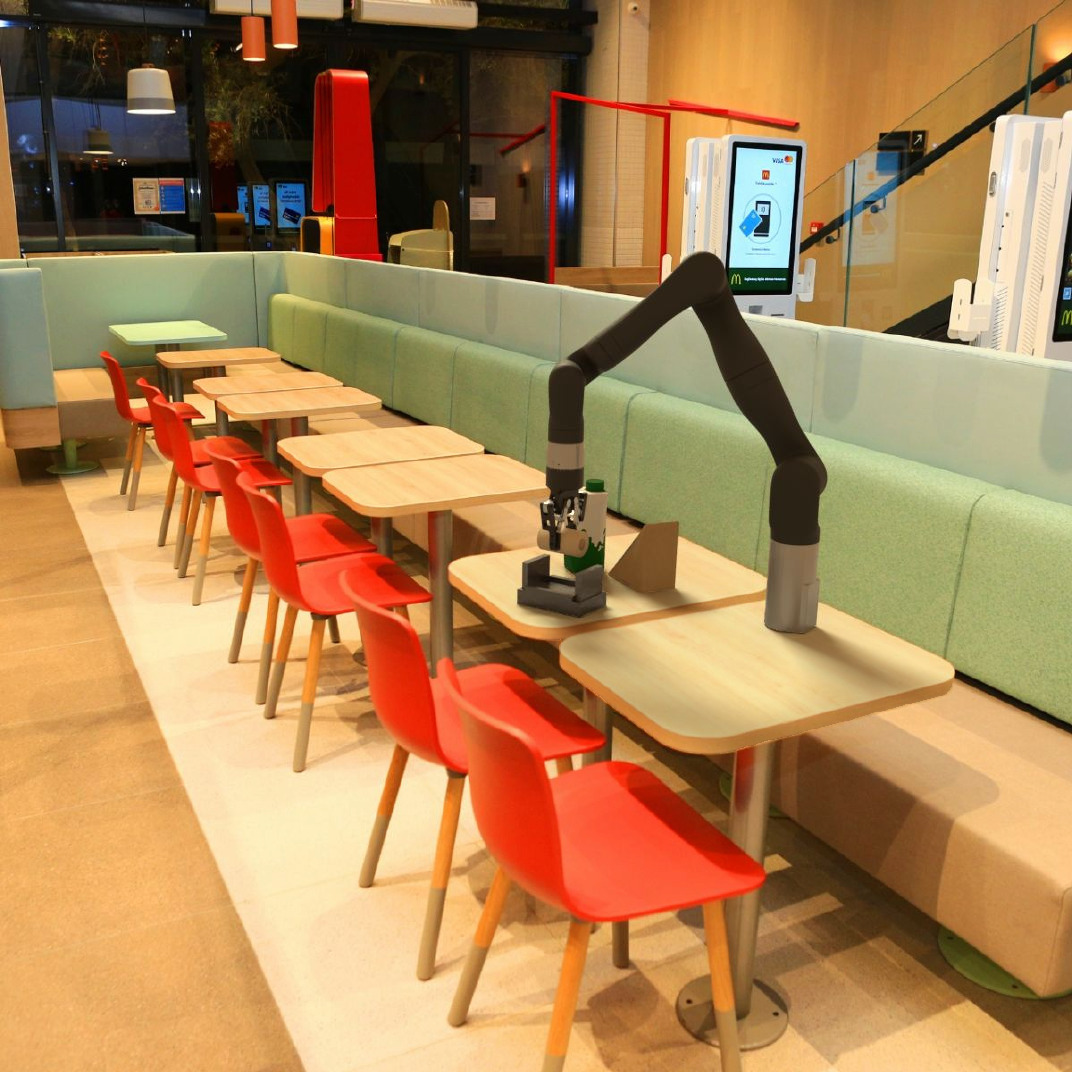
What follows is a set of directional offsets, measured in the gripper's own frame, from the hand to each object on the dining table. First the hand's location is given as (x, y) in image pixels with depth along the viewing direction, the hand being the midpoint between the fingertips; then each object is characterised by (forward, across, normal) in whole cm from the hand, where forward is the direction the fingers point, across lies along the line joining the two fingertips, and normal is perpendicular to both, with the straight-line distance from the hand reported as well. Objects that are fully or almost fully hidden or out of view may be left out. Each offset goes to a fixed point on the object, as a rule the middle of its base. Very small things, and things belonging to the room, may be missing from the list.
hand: (562, 546), depth 229 cm
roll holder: (+12, 0, 0) cm, 12 cm away
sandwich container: (+12, +24, -5) cm, 27 cm away
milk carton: (+12, +24, +10) cm, 29 cm away
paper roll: (+1, 0, 0) cm, 1 cm away
